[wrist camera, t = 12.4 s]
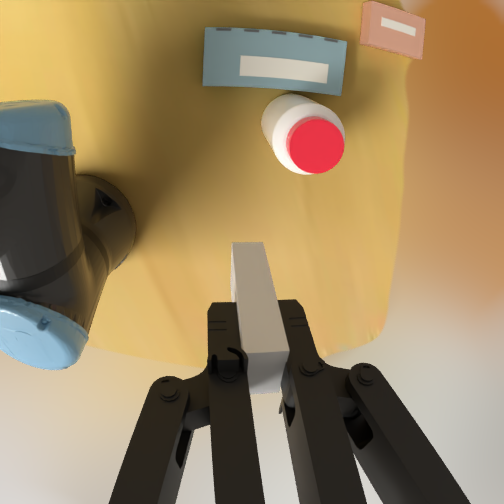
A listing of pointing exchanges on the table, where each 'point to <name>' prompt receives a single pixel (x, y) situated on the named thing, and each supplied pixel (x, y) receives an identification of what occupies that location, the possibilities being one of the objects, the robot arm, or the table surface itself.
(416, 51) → the pink labeled box
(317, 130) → the pill bottle
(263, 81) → the blue labeled box
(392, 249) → the table surface
